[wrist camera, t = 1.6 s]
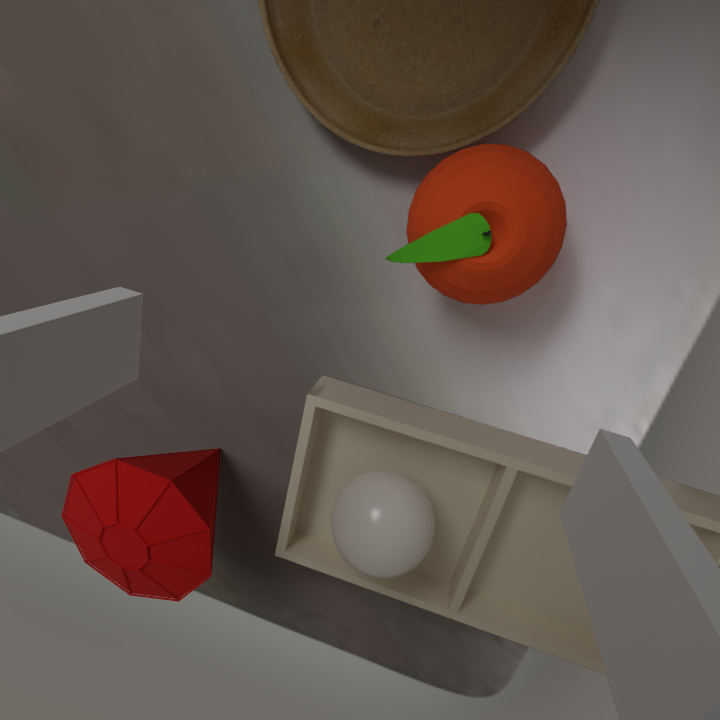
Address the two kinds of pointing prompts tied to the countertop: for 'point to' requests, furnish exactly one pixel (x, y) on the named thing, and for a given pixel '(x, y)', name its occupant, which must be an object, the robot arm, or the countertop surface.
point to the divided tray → (460, 515)
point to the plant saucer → (421, 64)
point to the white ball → (382, 523)
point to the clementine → (485, 224)
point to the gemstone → (147, 520)
